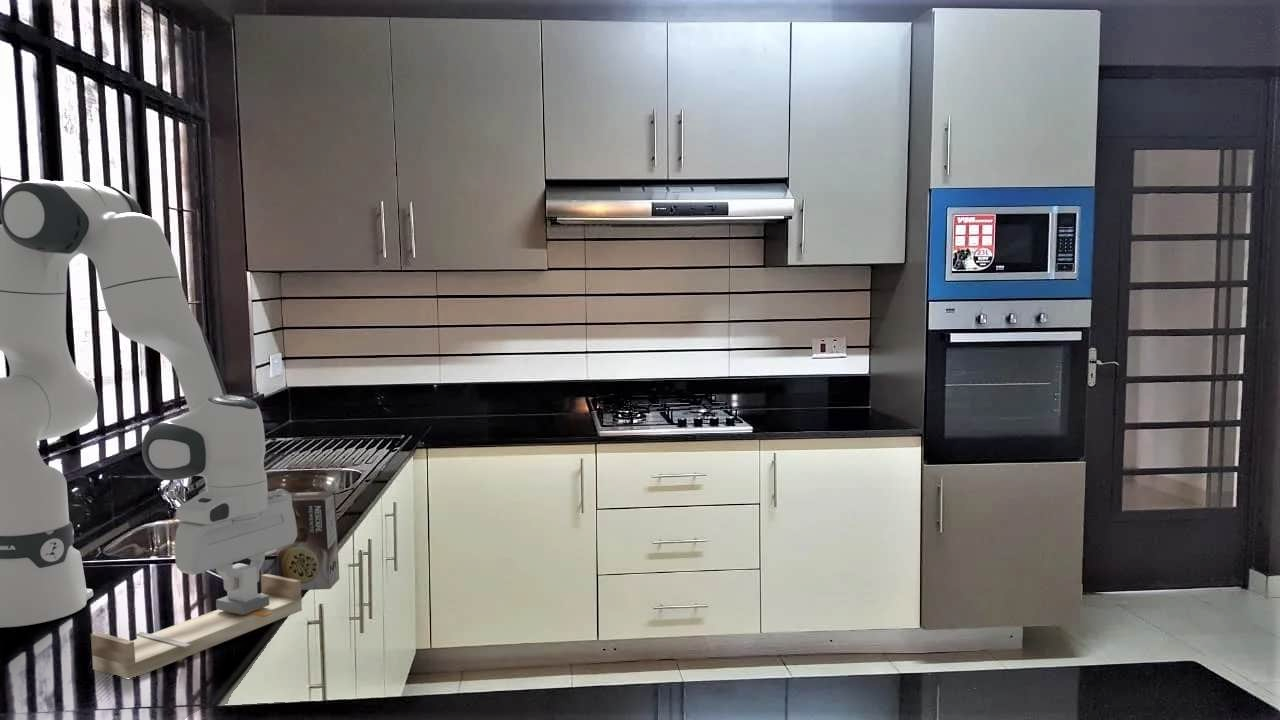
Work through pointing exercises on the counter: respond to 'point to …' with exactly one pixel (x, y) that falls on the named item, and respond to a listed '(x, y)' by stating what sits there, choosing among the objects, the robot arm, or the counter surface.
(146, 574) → the counter surface
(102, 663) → the fader track
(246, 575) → the fader tab
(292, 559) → the coffee box
